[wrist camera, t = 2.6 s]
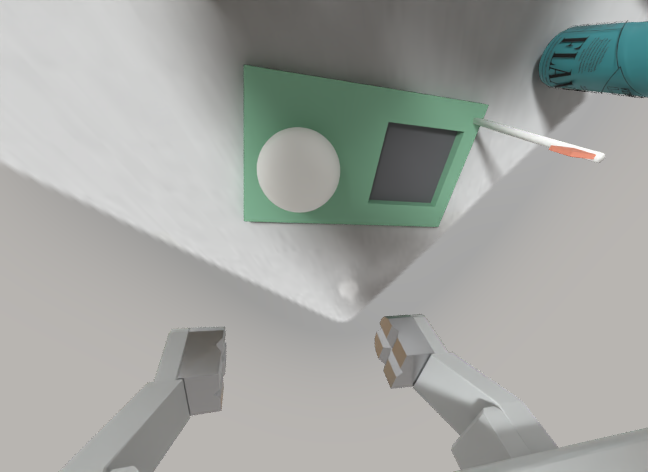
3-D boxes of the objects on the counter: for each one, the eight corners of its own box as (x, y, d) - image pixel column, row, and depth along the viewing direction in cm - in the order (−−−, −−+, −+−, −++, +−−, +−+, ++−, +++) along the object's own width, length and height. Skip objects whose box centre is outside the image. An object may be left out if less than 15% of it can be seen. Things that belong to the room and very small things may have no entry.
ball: (245, 176, 34) (242, 209, 27) (274, 104, 30) (280, 120, 23) (310, 202, 38) (323, 238, 30) (343, 141, 34) (367, 164, 27)
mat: (244, 215, 38) (237, 312, 24) (244, 64, 29) (232, 73, 15) (433, 222, 46) (514, 298, 32) (480, 103, 37) (626, 134, 22)
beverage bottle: (536, 29, 33) (812, 3, 17) (585, 23, 34) (893, -7, 18) (520, 90, 37) (733, 118, 20) (564, 83, 38) (803, 106, 21)
